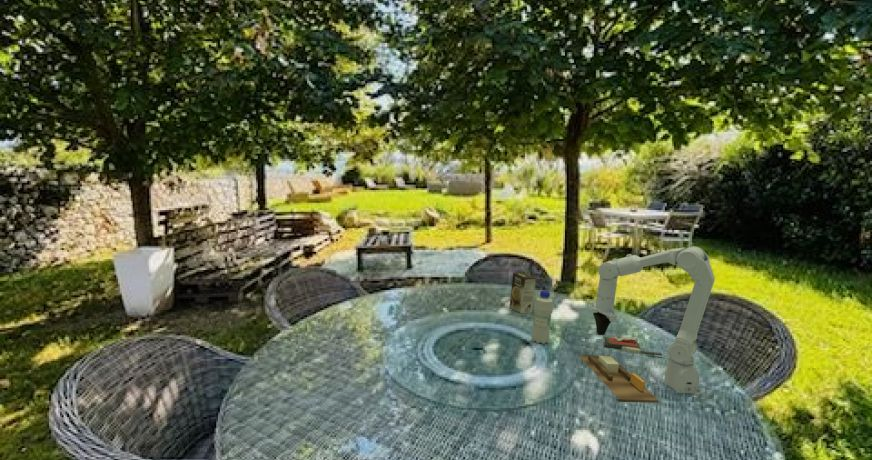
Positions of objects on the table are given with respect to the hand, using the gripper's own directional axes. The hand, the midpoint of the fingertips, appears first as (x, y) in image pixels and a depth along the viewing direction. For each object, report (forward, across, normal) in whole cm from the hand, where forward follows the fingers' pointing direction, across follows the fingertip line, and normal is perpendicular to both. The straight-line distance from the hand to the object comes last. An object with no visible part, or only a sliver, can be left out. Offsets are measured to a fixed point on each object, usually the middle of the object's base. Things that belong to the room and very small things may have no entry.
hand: (600, 334), depth 166 cm
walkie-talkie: (+10, -10, +18) cm, 23 cm away
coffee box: (+10, -51, -13) cm, 54 cm away
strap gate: (+8, +20, +3) cm, 22 cm away
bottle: (+10, -14, -16) cm, 23 cm away
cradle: (+9, +13, 0) cm, 16 cm away
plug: (+9, +8, 0) cm, 12 cm away
